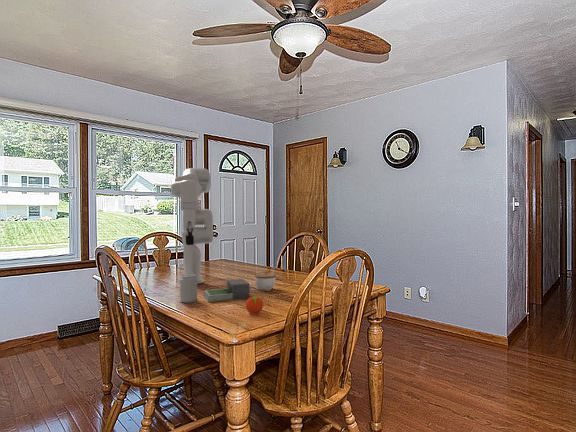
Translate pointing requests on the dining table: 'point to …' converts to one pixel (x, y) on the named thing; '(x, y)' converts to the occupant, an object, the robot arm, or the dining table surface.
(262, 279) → the lidded jar
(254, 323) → the dining table surface
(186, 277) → the can
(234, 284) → the frame
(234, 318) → the dining table surface
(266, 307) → the dining table surface
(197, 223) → the robot arm
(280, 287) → the dining table surface
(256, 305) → the tomato
